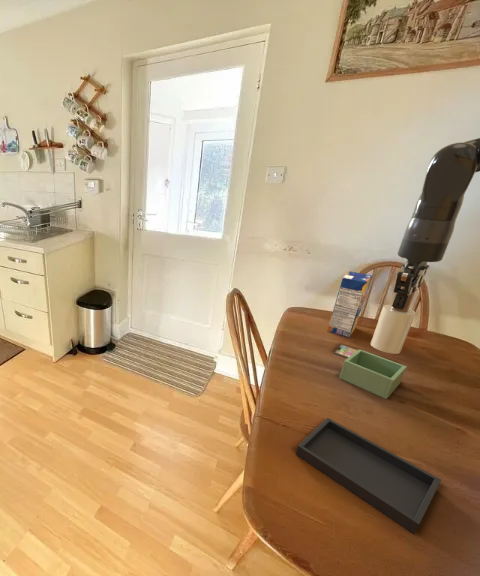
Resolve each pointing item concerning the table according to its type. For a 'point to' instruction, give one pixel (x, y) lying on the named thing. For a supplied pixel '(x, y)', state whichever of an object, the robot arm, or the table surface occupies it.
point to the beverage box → (349, 303)
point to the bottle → (393, 327)
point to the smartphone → (345, 351)
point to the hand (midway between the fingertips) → (400, 306)
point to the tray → (370, 472)
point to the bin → (372, 373)
